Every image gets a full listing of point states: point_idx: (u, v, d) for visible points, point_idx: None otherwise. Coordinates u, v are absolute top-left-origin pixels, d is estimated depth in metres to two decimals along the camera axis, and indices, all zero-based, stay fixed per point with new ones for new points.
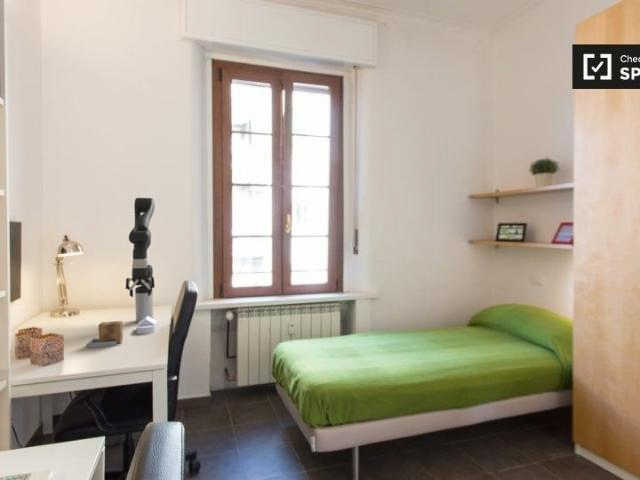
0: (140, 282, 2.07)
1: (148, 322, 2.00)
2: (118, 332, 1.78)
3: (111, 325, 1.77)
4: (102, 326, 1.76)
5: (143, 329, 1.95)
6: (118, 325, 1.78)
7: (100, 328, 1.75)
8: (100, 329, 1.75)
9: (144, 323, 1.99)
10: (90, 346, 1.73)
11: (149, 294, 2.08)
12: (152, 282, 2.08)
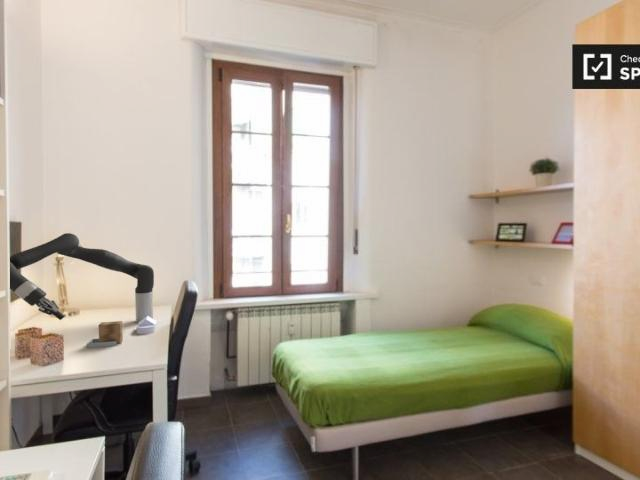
0: None
1: (148, 322, 2.00)
2: (118, 332, 1.78)
3: (111, 325, 1.77)
4: (102, 326, 1.76)
5: (143, 329, 1.95)
6: (118, 325, 1.78)
7: (100, 328, 1.75)
8: (100, 329, 1.75)
9: (144, 323, 1.99)
10: (90, 346, 1.73)
11: (63, 315, 1.73)
12: (55, 304, 1.75)
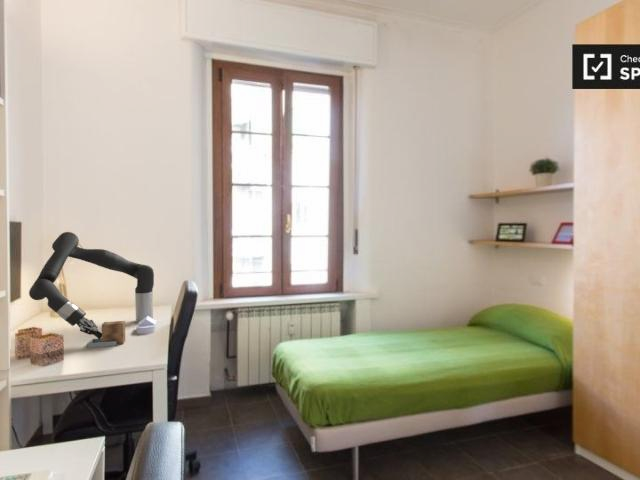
0: None
1: (148, 322, 2.00)
2: (121, 332, 1.78)
3: (114, 325, 1.77)
4: (105, 326, 1.76)
5: (143, 329, 1.95)
6: (121, 325, 1.78)
7: (103, 328, 1.76)
8: (103, 329, 1.76)
9: (144, 323, 1.99)
10: (90, 346, 1.73)
11: (101, 334, 1.78)
12: (94, 323, 1.80)
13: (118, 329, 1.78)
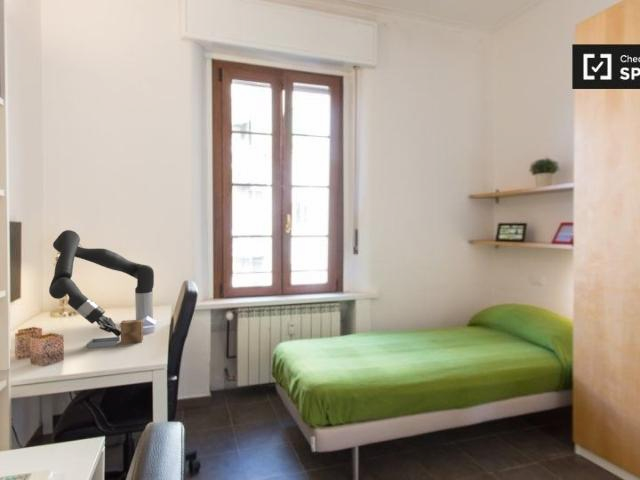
0: None
1: (148, 322, 2.00)
2: (139, 330, 1.81)
3: (132, 323, 1.80)
4: (124, 324, 1.79)
5: (143, 329, 1.95)
6: (139, 323, 1.81)
7: (122, 326, 1.78)
8: (122, 327, 1.78)
9: (144, 323, 1.99)
10: (90, 346, 1.73)
11: None
12: (112, 321, 1.83)
13: (136, 327, 1.80)
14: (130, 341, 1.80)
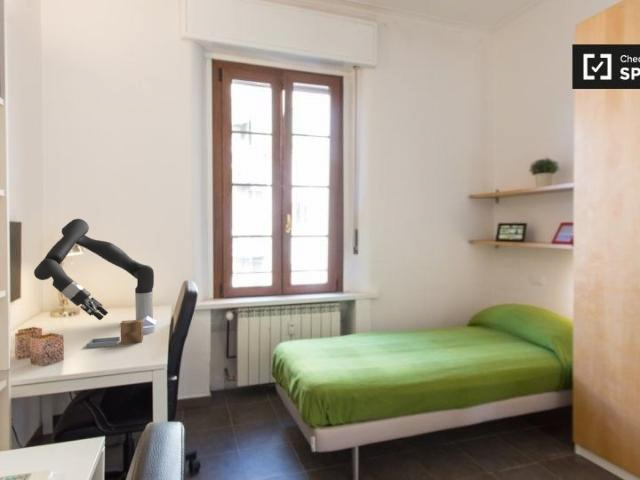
0: (93, 303, 1.76)
1: (148, 322, 2.00)
2: (139, 330, 1.81)
3: (132, 323, 1.80)
4: (124, 324, 1.79)
5: (143, 329, 1.95)
6: (139, 323, 1.81)
7: (122, 326, 1.78)
8: (122, 327, 1.78)
9: (144, 323, 1.99)
10: (90, 346, 1.73)
11: (106, 311, 1.82)
12: (97, 301, 1.82)
13: (136, 328, 1.80)
14: (130, 341, 1.80)
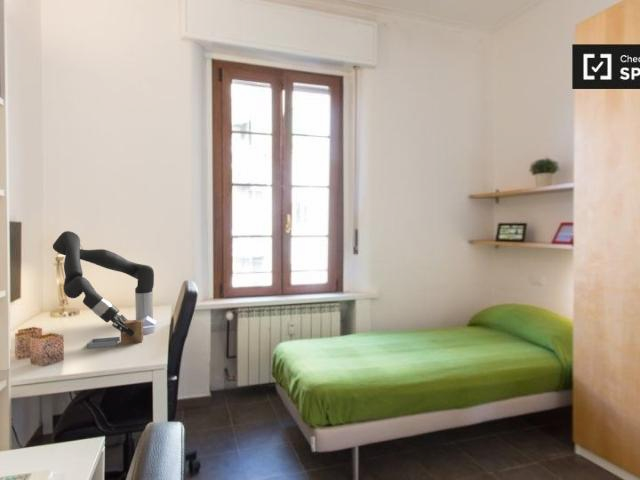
0: (121, 319, 1.81)
1: (148, 322, 2.00)
2: (139, 330, 1.81)
3: (132, 323, 1.80)
4: None
5: (143, 329, 1.95)
6: (139, 323, 1.80)
7: None
8: (122, 327, 1.78)
9: (144, 323, 1.99)
10: (90, 346, 1.73)
11: None
12: (125, 318, 1.86)
13: (136, 328, 1.80)
14: (130, 341, 1.80)
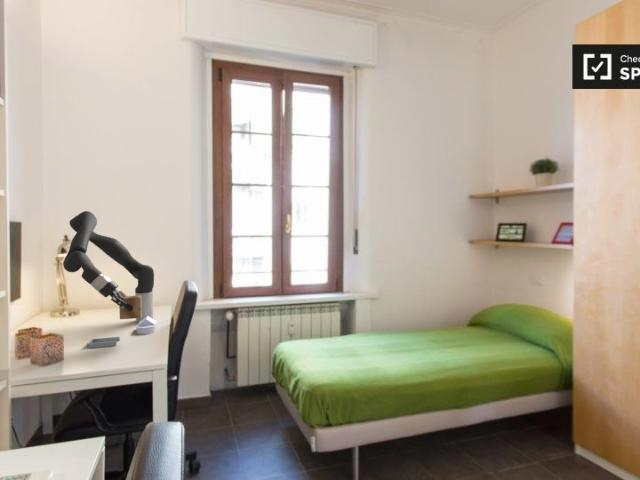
0: (120, 295, 1.80)
1: (148, 322, 2.00)
2: (138, 306, 1.80)
3: (131, 299, 1.79)
4: None
5: (143, 329, 1.95)
6: (138, 299, 1.80)
7: None
8: (121, 302, 1.78)
9: (144, 323, 1.99)
10: (90, 346, 1.73)
11: None
12: (124, 294, 1.85)
13: (135, 303, 1.80)
14: (129, 316, 1.79)
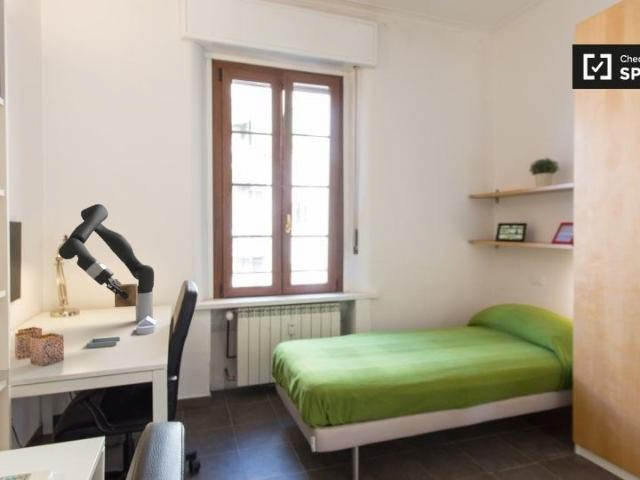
0: None
1: (148, 322, 1.99)
2: (134, 294, 1.79)
3: (127, 286, 1.78)
4: None
5: (143, 329, 1.95)
6: (134, 287, 1.79)
7: None
8: (116, 290, 1.77)
9: (144, 323, 1.99)
10: (90, 346, 1.73)
11: None
12: (120, 283, 1.85)
13: (131, 291, 1.79)
14: (124, 304, 1.78)
